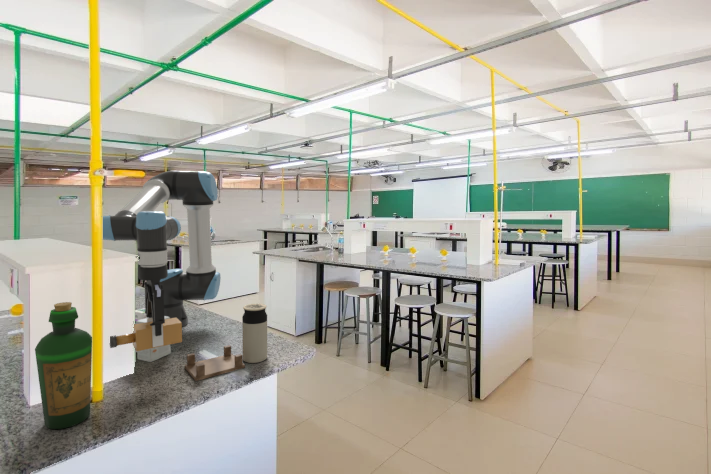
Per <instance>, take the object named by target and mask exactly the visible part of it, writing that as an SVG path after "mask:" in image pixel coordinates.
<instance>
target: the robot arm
mask: <svg viewBox="0 0 711 474" xmlns="http://www.w3.org/2000/svg"><path fill="white" fill-rule="evenodd" d="M218 198H219V197H218V184H217V181H216V179H215V176H214V174H212V173H211V172H209V171H201V170H167V171H163V172H161V173H159V174H156V175H155V176H152V177H151V178H149V179H148V180H147V181H146V182H145V183H143V185H142V189H141V190H140V191H139V193H137V194H136V195H135V196H134V197H133V198H132V199H131V200H130V201H129V202H127V204H126V205H124V207H122V208H121V209H120V210H119V211H118V212H117V213H116V214H115V215H103V239H102V240H104V241H113V242H115V241H136V245H137V254H136V255H138V256H139V257H140V259H139V257H138V256H135V255H134V257H135V258H136V259H137V265H138V267H137V277H138V279H139V280H140V281H144V282H143V287H144V308H145V313H146V317H147V322H152V321H153V323H152V324H150V326H152V345H153V347H157V346H162V345H163V323H165V318H164V316H168V317H170V318H176V317H177V318H178V319H179V320H180V321H181V322H182V327H185V326H187V325H188V323H189V317H188V314H187V312H186V310H185V306H184V301H209V300H210V301H211V300H214V299H216V298H217V296H218V294H219V292H220V291H219V290H220V286H221V273H220V272H218V271H217V268H216V266H215V265H213V263H212V260H213V259H212V237H211V236H212V233H211V232H212V231H211V213H210V212H211V207H213V206H214V202H215V201H217V200H218ZM168 200H169V201H170V200H172V201H174V200H177V201H182V206H183V207H184V208H185V209H186V214H187V215H186V216H187V217H186V218H187V233H188V234H187V236H188V257H189V258H188V259H189V266H188V267H187V268H186V270H185V271H186V272H184V270H183V269H182V268H172V269H168V265H167V263H168V245H167V241H172V240H173V239H175V238H176V237H178V236H179V235H180V233H181V231H182V226H181V223H180V221H179V220H178V219H177V218H176V217H174V216H170V215H166V213H165V212H164V211H160V210H159V211H155V210H156V209H157V208H158V207H159V205H161V204H163V203H165V202H167V201H168ZM137 257H138V258H137ZM138 260H139V261H138Z"/></svg>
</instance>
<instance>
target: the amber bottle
mask: <svg viewBox="0 0 711 474" xmlns="http://www.w3.org/2000/svg"><path fill="white" fill-rule="evenodd" d="M152 323H153V321H152V322H146V323H140V324H134V323H133V324H134V327H133V328H134V331H133V333H132V332H131V333H126V334H122V335H111V336H110V343H109V348H110V349H113V348H117V346H118V347H119V346H122V345H127V344H132V346H133V349H134V348H135V350H136V351H141V350H146V349H150V348H155V347H153V345H152V326H150V324H152ZM182 329H183V326H182V322H181V321H180V320H179V319H178V318H177V317H176V318H170V319H165V323H163V345H162V346H165V345H170V346H171V345H175V344H179V343H182V342H183V330H182ZM157 347H160V346H157Z"/></svg>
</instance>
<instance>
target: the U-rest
mask: <svg viewBox="0 0 711 474" xmlns="http://www.w3.org/2000/svg"><path fill="white" fill-rule="evenodd" d="M245 368H246V365H245V363H243V353H242V354H241V353H238V354H235V355H234V354H233V353H232V346H231V345H230V344H229V345H228V344H227V345H224V346H223V355H220V356H214V357H211V358H207V359H204V360H199V361H196V354H195V353H194V352H193V353H188V354H186V364H184V369H185V370H186V372H188V374H189V375H190V376H191V378H192V379H194V381H195V382H198V381H202V380H205V379H209V378H212V377H215V376H219V375H223V374H227V373H231V372H233V371H234V372H235V371H238V370H241V369H245Z"/></svg>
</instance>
